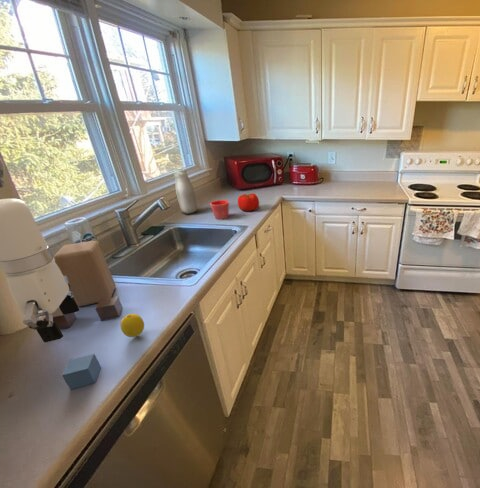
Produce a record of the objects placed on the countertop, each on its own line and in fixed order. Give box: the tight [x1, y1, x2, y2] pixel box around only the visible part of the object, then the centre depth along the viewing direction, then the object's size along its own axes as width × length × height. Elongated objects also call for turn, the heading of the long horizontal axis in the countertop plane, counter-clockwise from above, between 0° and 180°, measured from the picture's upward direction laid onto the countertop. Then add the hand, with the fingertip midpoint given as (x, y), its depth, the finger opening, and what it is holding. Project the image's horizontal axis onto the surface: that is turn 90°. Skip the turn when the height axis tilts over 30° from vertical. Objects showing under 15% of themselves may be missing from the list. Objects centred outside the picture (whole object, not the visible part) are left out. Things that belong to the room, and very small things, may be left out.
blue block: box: [61, 353, 102, 390], centre depth 69 cm, size 5×5×5 cm
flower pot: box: [209, 199, 230, 220], centre depth 173 cm, size 11×11×10 cm
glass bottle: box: [173, 168, 198, 215], centre depth 177 cm, size 10×10×28 cm
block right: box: [95, 295, 124, 322], centre depth 91 cm, size 5×5×5 cm
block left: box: [42, 307, 77, 331], centre depth 87 cm, size 5×5×5 cm
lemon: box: [120, 313, 145, 338], centre depth 82 cm, size 6×6×8 cm
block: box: [53, 240, 116, 307], centre depth 97 cm, size 10×10×20 cm
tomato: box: [237, 192, 260, 212], centre depth 186 cm, size 14×13×10 cm
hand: (63, 325), depth 64 cm, fingers open, 9 cm apart
